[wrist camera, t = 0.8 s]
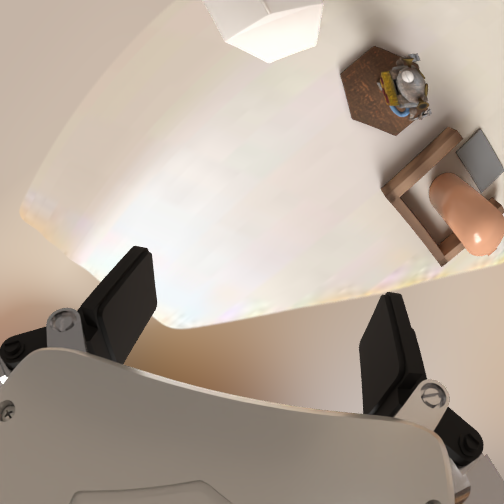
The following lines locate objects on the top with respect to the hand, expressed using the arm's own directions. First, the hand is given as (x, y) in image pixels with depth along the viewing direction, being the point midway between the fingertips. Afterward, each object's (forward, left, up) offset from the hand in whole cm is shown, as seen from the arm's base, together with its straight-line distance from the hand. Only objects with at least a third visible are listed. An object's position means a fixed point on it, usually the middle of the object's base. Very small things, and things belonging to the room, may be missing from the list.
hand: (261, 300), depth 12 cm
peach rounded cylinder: (-11, +18, -27) cm, 34 cm away
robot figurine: (-13, +2, -27) cm, 30 cm away
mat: (-18, +17, -27) cm, 36 cm away
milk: (-10, -11, -27) cm, 31 cm away
